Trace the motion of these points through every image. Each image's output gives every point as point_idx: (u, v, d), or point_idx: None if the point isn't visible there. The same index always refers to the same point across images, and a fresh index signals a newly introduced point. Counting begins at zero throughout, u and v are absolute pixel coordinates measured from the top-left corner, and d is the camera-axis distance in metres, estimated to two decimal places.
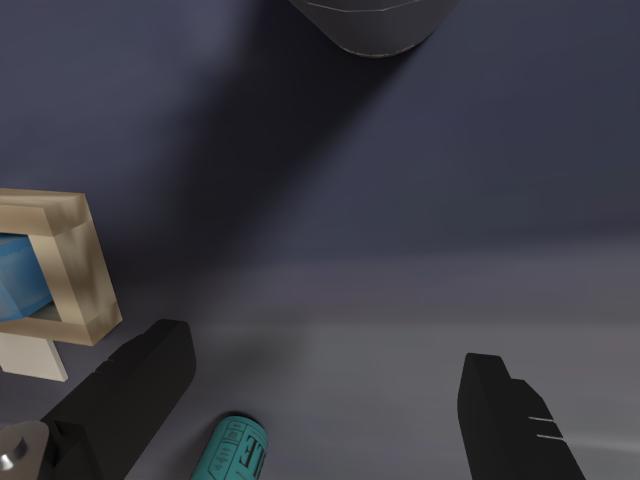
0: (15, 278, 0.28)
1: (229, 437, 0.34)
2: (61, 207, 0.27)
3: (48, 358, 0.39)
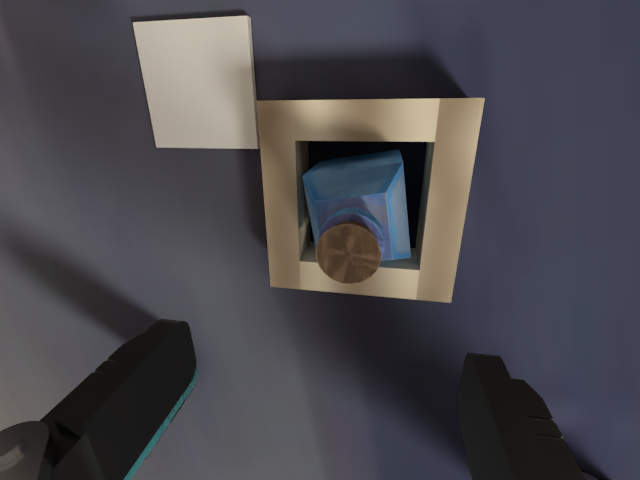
0: None
1: None
2: None
3: (194, 137, 0.27)
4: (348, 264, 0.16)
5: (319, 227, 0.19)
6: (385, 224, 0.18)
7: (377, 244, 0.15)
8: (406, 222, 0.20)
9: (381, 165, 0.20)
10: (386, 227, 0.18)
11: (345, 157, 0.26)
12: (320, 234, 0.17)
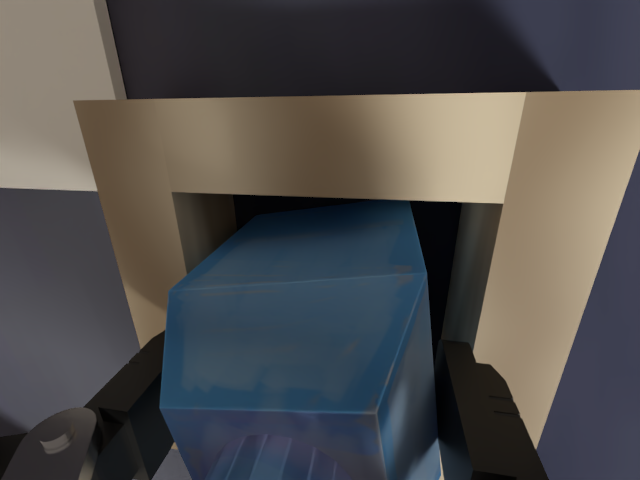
0: None
1: None
2: None
3: (23, 169, 0.14)
4: None
5: (188, 463, 0.07)
6: None
7: None
8: (433, 414, 0.08)
9: (367, 281, 0.07)
10: None
11: (302, 210, 0.13)
12: None
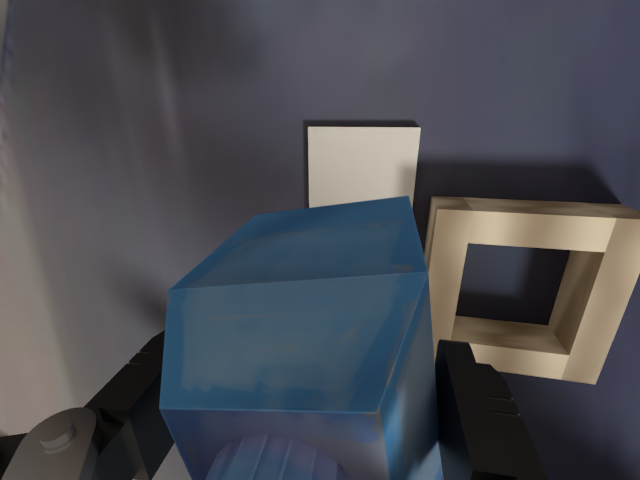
0: None
1: None
2: None
3: None
4: None
5: (188, 463, 0.07)
6: None
7: None
8: (434, 414, 0.08)
9: (368, 280, 0.07)
10: None
11: (302, 210, 0.13)
12: None
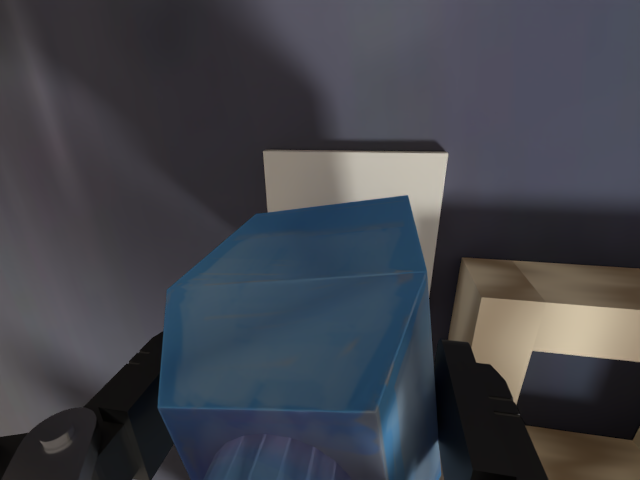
0: None
1: None
2: None
3: None
4: None
5: (187, 463, 0.07)
6: None
7: None
8: (433, 413, 0.08)
9: (366, 279, 0.07)
10: None
11: (302, 209, 0.13)
12: None
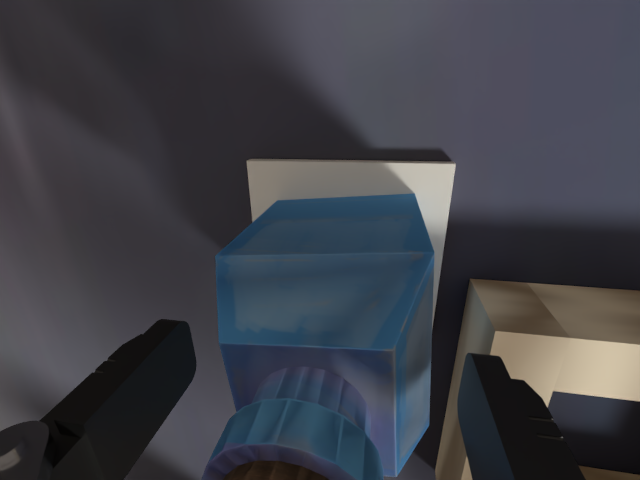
0: None
1: None
2: None
3: None
4: None
5: (233, 392, 0.08)
6: (386, 412, 0.08)
7: None
8: (428, 370, 0.10)
9: (386, 256, 0.09)
10: (388, 419, 0.08)
11: (320, 199, 0.15)
12: (207, 472, 0.06)
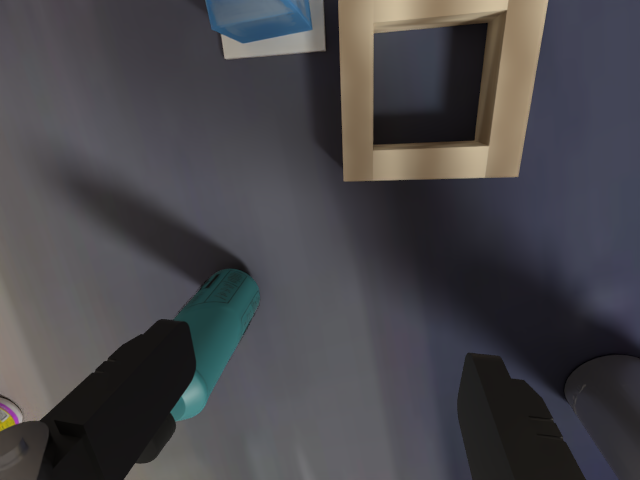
0: (261, 22, 0.23)
1: (253, 304, 0.35)
2: None
3: (262, 44, 0.28)
4: None
5: None
6: None
7: None
8: None
9: None
10: None
11: None
12: None
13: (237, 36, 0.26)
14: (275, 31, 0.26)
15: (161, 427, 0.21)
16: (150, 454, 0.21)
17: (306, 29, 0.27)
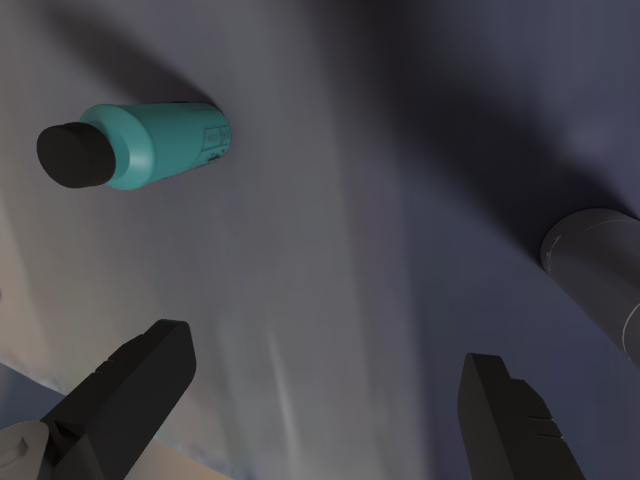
0: None
1: (221, 133, 0.34)
2: None
3: None
4: None
5: None
6: None
7: None
8: None
9: None
10: None
11: None
12: None
13: None
14: None
15: (97, 147, 0.21)
16: (84, 170, 0.20)
17: None
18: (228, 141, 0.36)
